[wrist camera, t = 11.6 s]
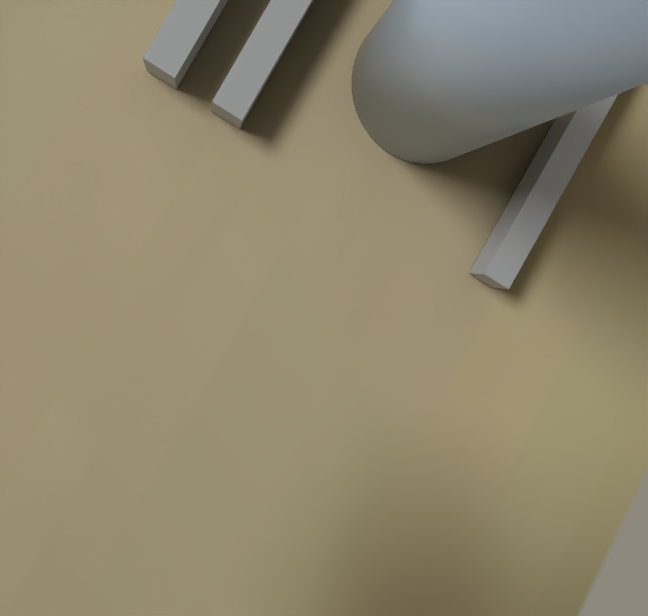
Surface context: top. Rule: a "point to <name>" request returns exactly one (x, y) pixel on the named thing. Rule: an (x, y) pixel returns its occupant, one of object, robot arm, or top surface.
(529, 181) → the parallel gray bars
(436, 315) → the top surface
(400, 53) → the pale blue cylinder
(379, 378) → the top surface
